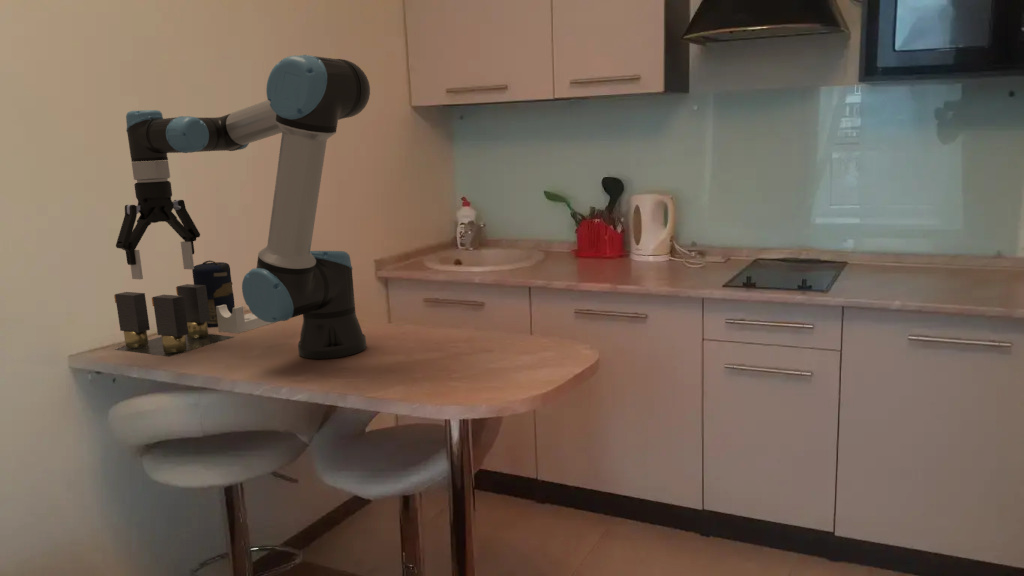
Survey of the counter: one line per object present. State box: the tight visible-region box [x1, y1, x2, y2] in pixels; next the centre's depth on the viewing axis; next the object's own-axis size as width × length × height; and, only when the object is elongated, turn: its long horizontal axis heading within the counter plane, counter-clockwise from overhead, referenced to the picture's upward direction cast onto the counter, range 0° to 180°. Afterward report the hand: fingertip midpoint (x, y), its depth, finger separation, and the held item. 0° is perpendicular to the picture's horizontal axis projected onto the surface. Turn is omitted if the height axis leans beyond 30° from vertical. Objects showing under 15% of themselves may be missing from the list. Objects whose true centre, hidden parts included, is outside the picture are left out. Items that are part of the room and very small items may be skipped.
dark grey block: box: [151, 294, 189, 353], centre depth 184 cm, size 7×5×13 cm
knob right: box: [175, 283, 210, 338], centre depth 198 cm, size 7×5×13 cm
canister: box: [191, 260, 236, 328], centre depth 212 cm, size 10×10×18 cm
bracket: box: [216, 305, 276, 334], centre depth 207 cm, size 13×7×8 cm, turn 150°
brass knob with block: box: [113, 291, 151, 348], centre depth 191 cm, size 7×5×13 cm
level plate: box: [114, 333, 235, 358], centre depth 193 cm, size 20×19×2 cm
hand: (164, 274), depth 182 cm, fingers open, 13 cm apart
